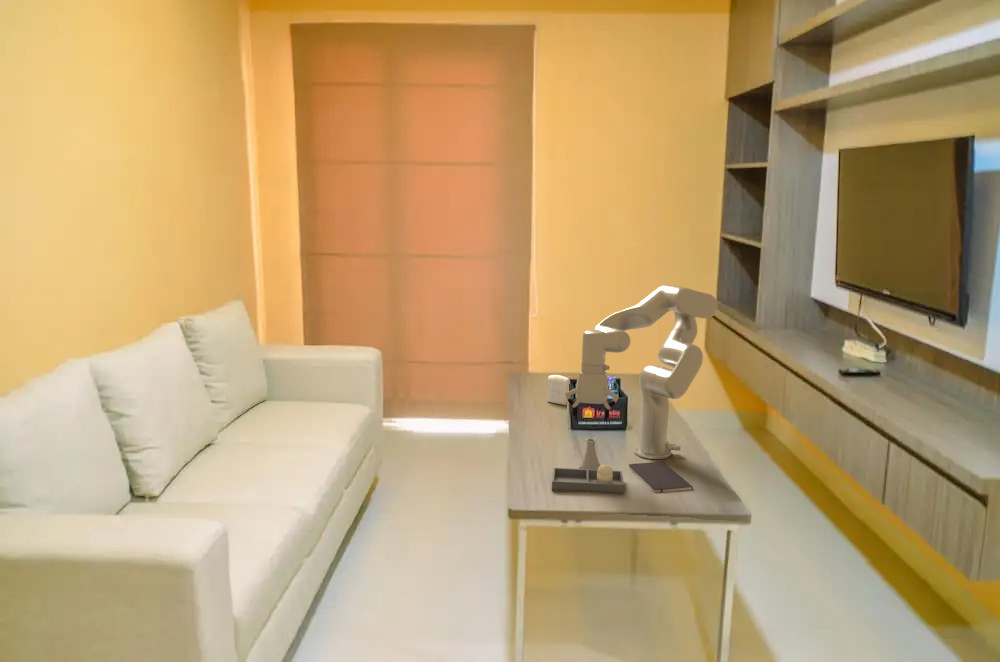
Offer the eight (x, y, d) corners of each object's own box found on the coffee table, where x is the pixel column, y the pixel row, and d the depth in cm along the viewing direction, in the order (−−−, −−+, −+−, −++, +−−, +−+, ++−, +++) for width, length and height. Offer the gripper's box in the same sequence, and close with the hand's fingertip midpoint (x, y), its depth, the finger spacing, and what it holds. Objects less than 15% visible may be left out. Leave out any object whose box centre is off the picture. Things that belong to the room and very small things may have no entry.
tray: (621, 479, 228) (621, 470, 228) (623, 494, 218) (623, 485, 217) (553, 476, 231) (553, 467, 230) (551, 490, 220) (551, 481, 219)
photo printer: (570, 403, 310) (571, 376, 308) (566, 406, 307) (566, 378, 304) (550, 399, 316) (550, 372, 314) (545, 402, 312) (545, 374, 310)
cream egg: (611, 481, 226) (612, 462, 224) (612, 487, 221) (613, 468, 220) (596, 480, 226) (597, 461, 225) (596, 486, 221) (597, 467, 220)
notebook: (692, 491, 222) (662, 465, 242) (692, 486, 221) (663, 461, 242) (654, 494, 219) (627, 468, 239) (654, 489, 219) (627, 464, 239)
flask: (603, 472, 235) (604, 443, 233) (581, 473, 234) (582, 443, 232) (598, 464, 242) (599, 436, 240) (577, 464, 241) (578, 436, 239)
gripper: (619, 367, 234) (616, 417, 237) (566, 364, 236) (564, 414, 239) (620, 372, 227) (617, 424, 230) (565, 369, 228) (563, 421, 231)
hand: (590, 419), depth 234 cm, fingers open, 9 cm apart
